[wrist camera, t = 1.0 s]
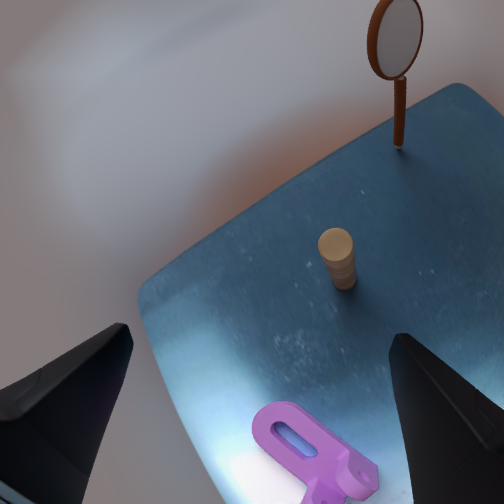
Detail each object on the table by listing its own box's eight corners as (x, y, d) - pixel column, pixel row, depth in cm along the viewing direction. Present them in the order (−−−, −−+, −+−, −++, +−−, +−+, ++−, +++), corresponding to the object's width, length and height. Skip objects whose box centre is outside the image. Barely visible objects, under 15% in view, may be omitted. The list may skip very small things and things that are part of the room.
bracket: (376, 465, 20) (379, 496, 14) (336, 499, 20) (327, 534, 14) (281, 389, 26) (257, 400, 20) (246, 426, 26) (214, 443, 20)
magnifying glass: (410, 125, 30) (408, -20, 12) (421, 132, 29) (426, -15, 12) (371, 165, 30) (352, 4, 13) (382, 174, 30) (373, 10, 12)
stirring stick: (360, 284, 27) (359, 252, 18) (338, 294, 28) (326, 267, 19) (350, 262, 28) (343, 221, 19) (328, 273, 29) (312, 236, 20)
